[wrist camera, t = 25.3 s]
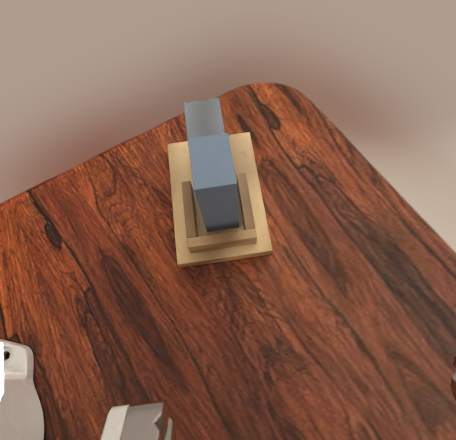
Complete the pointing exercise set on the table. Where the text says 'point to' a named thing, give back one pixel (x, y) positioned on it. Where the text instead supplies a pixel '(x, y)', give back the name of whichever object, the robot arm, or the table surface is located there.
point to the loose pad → (214, 181)
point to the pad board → (188, 206)
